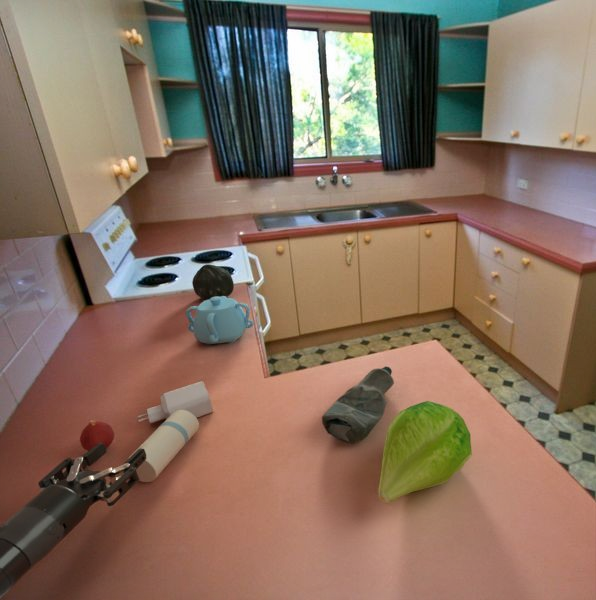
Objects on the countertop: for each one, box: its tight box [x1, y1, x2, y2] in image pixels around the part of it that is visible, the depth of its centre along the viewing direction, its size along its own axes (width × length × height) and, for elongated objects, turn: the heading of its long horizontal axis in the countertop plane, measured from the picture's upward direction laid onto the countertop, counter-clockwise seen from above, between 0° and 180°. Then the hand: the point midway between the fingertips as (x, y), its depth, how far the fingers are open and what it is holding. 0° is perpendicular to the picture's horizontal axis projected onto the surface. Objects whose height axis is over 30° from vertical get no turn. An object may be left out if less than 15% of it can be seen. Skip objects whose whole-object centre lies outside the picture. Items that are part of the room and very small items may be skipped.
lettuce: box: [378, 400, 473, 504], centre depth 79 cm, size 15×22×15 cm
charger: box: [137, 380, 214, 424], centre depth 100 cm, size 5×9×15 cm
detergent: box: [321, 366, 395, 444], centre depth 99 cm, size 13×7×25 cm
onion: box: [79, 420, 115, 452], centre depth 89 cm, size 6×6×8 cm
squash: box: [191, 263, 235, 302], centre depth 165 cm, size 14×15×15 cm
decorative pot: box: [185, 296, 254, 345], centre depth 134 cm, size 16×16×14 cm
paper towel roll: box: [125, 410, 200, 483], centre depth 87 cm, size 6×6×14 cm
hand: (123, 449), depth 78 cm, fingers open, 8 cm apart
